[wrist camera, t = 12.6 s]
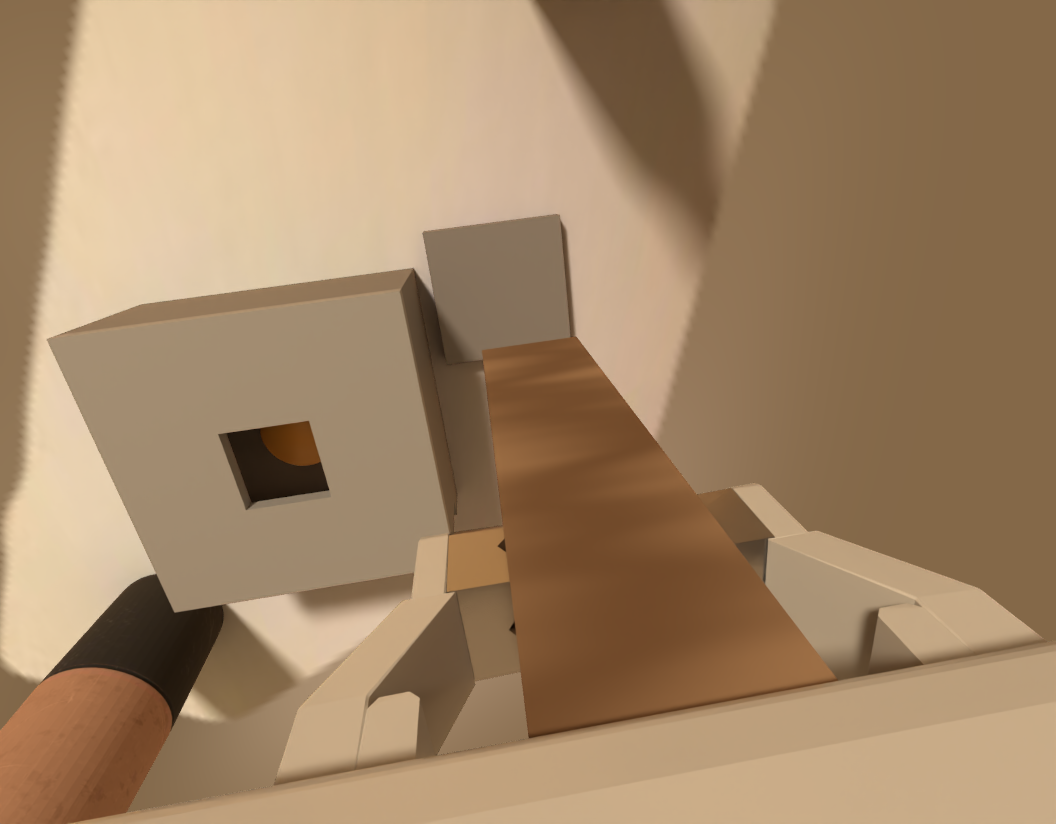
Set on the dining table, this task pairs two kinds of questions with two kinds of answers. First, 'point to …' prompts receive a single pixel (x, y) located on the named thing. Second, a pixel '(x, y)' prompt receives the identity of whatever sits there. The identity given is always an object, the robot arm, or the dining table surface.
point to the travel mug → (104, 710)
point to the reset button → (291, 443)
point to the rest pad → (498, 285)
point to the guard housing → (262, 401)
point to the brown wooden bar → (619, 559)
